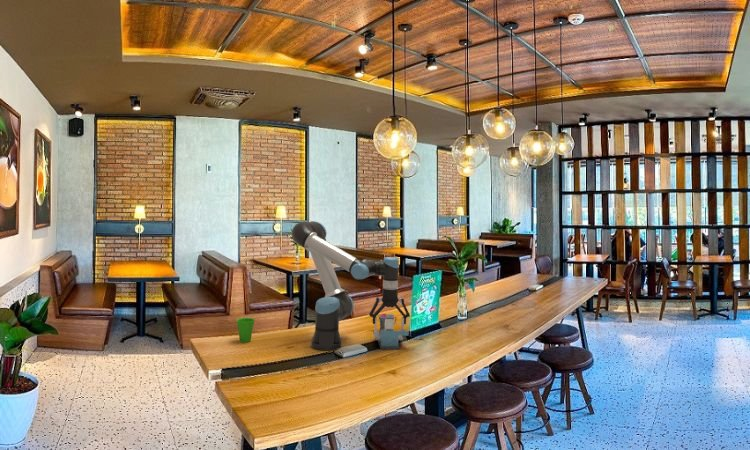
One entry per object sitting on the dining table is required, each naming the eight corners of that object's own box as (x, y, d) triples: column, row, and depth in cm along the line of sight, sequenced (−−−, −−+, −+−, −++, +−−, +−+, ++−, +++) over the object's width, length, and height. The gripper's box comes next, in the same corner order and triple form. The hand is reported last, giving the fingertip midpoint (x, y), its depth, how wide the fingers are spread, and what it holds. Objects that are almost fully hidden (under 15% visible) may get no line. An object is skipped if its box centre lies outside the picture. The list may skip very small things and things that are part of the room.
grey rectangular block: (385, 344, 235) (385, 321, 234) (384, 342, 239) (384, 319, 238) (393, 345, 235) (393, 321, 234) (392, 342, 239) (392, 319, 238)
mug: (385, 338, 251) (385, 318, 251) (373, 334, 258) (374, 315, 258) (401, 334, 259) (402, 315, 259) (390, 330, 266) (390, 312, 266)
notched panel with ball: (375, 349, 232) (376, 327, 231) (372, 339, 248) (373, 319, 248) (408, 349, 233) (408, 327, 232) (403, 339, 249) (404, 319, 249)
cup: (258, 341, 239) (258, 320, 238) (242, 345, 232) (242, 323, 232) (248, 337, 245) (248, 316, 245) (232, 341, 238) (232, 319, 238)
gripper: (365, 289, 231) (364, 332, 232) (416, 290, 233) (414, 332, 234) (364, 286, 238) (363, 328, 239) (413, 287, 240) (412, 328, 241)
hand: (389, 330), depth 237 cm, fingers open, 13 cm apart
